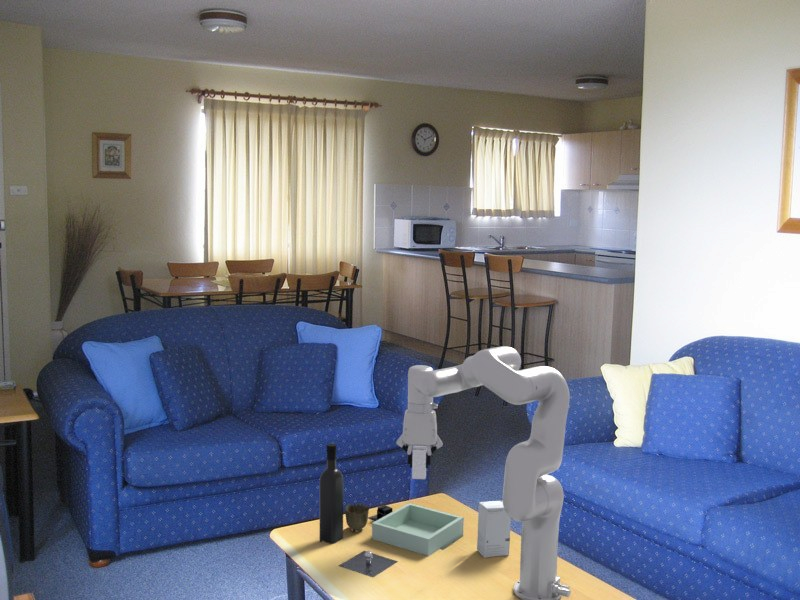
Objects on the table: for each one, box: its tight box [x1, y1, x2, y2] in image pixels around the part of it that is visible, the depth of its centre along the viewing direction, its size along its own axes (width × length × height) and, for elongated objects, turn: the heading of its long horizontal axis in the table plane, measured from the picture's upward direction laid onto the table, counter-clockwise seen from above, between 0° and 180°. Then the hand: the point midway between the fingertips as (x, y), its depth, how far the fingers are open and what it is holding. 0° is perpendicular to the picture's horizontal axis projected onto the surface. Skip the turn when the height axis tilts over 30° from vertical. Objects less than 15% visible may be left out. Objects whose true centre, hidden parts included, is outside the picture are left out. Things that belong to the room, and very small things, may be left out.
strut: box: [411, 445, 427, 480], centre depth 246 cm, size 4×4×9 cm
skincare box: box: [476, 500, 512, 559], centre depth 240 cm, size 8×6×15 cm
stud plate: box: [338, 550, 399, 578], centre depth 230 cm, size 12×12×5 cm
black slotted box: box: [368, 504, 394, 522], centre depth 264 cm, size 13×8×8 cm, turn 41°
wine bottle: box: [318, 443, 344, 544], centre depth 245 cm, size 6×6×30 cm
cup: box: [344, 503, 370, 533], centre depth 253 cm, size 8×7×8 cm
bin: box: [371, 502, 465, 557], centre depth 249 cm, size 20×20×6 cm
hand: (419, 466), depth 246 cm, fingers closed on strut, 4 cm apart
